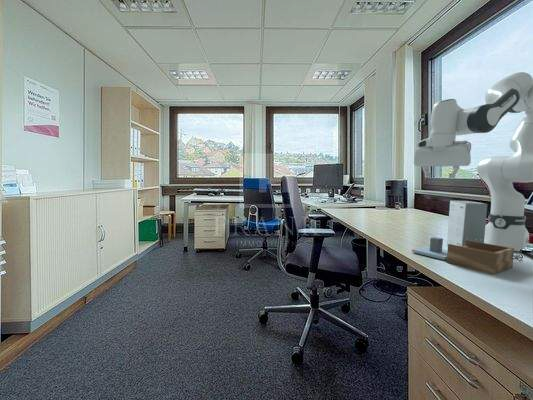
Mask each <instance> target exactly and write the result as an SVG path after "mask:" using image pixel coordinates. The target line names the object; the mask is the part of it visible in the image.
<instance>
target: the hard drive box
mask: <svg viewBox="0 0 533 400" xmlns="http://www.w3.org/2000/svg"><path fill="white" fill-rule="evenodd" d="M487 212H488V203H483V202H476V201H468V200H450V201H449V210H448V222H447V223H448V225H447V234H446V235H447V237H446V246H447V247H448V244H453V245H458V246H466V240H470V241H475V242H481V243H484V236H485V225H487Z"/></svg>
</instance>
